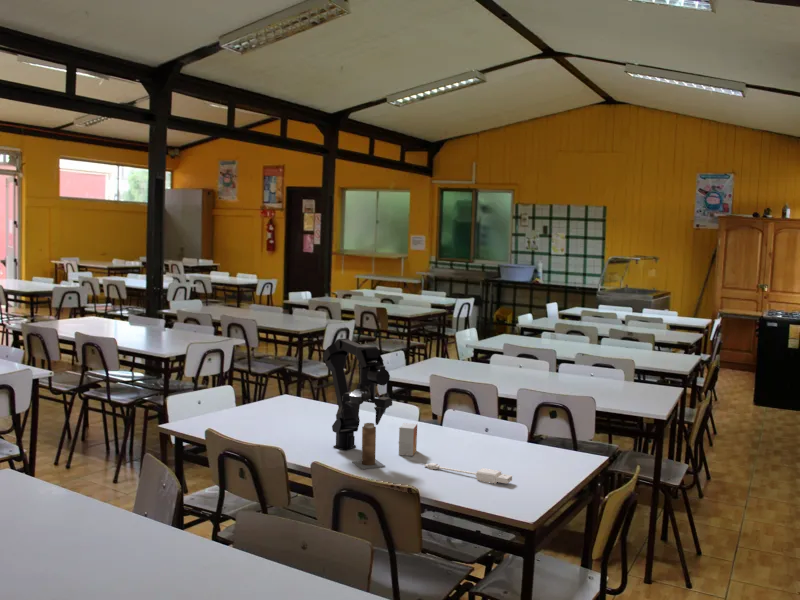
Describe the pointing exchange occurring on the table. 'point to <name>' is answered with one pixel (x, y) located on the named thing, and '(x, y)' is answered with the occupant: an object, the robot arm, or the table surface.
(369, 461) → the pepper mill
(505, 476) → the charging cable
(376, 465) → the coaster
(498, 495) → the table surface
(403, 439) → the small box
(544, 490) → the table surface
